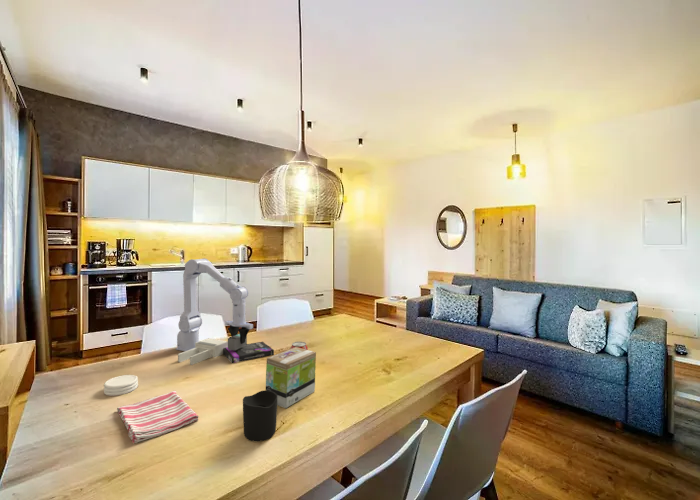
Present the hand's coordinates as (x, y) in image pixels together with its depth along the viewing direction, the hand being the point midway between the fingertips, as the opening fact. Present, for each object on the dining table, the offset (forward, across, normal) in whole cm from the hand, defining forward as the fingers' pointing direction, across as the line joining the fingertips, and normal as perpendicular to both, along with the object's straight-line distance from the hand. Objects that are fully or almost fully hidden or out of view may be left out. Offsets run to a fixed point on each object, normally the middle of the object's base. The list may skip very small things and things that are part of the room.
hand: (238, 342), depth 154 cm
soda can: (+6, +36, -6) cm, 37 cm away
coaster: (+6, -13, -45) cm, 47 cm away
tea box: (+6, +44, -24) cm, 50 cm away
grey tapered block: (+2, 0, -1) cm, 2 cm away
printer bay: (+6, -13, -9) cm, 17 cm away
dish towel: (+6, +14, -52) cm, 54 cm away
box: (+6, +4, +2) cm, 8 cm away
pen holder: (+6, +48, -46) cm, 67 cm away
